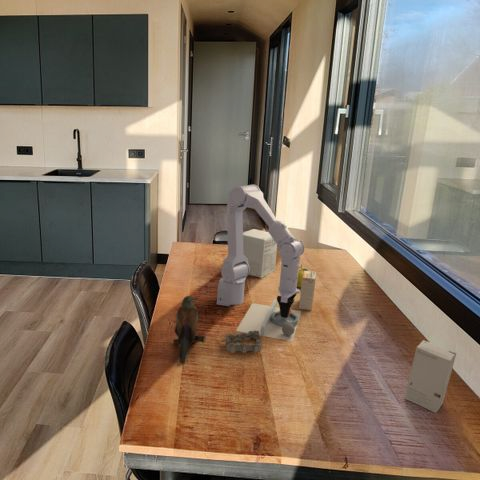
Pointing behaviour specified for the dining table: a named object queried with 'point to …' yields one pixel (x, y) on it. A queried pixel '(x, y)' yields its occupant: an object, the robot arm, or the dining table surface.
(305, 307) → the supplement box
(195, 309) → the bird figurine
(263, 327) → the fence
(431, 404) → the skincare box
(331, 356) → the dining table surface
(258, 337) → the egg carton
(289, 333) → the grey ball
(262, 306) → the board
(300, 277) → the lemon
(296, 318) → the dish
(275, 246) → the supplement box
